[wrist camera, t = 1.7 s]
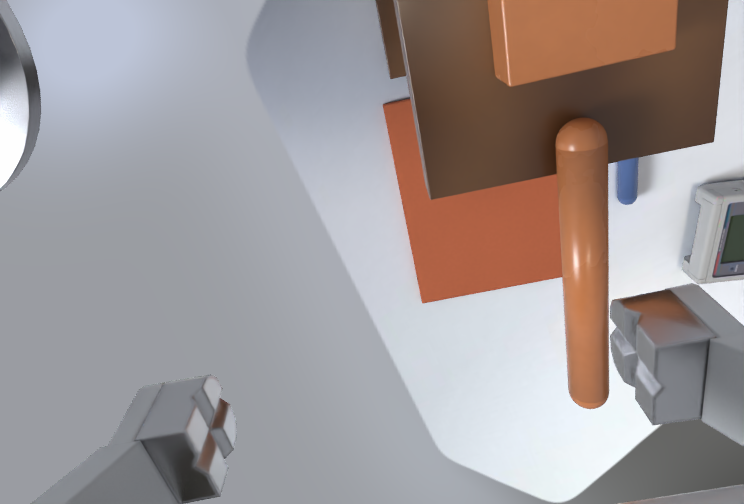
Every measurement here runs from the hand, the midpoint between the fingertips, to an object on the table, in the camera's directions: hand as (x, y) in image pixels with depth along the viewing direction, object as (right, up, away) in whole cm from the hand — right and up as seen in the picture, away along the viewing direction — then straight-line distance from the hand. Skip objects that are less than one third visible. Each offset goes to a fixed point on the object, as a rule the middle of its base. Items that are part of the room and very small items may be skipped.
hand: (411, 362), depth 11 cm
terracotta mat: (+9, +7, +37) cm, 38 cm away
